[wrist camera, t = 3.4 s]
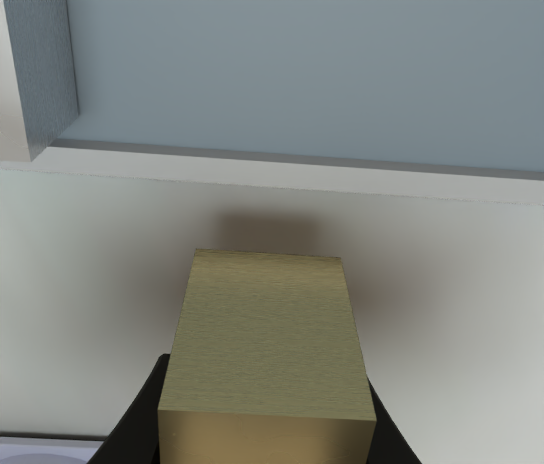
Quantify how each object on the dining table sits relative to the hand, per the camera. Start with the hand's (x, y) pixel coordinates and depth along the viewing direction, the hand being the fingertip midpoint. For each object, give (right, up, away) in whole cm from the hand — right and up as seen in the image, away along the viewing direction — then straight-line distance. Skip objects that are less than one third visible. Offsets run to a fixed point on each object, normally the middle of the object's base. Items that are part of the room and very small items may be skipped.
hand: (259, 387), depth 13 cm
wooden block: (0, +1, +1) cm, 2 cm away
